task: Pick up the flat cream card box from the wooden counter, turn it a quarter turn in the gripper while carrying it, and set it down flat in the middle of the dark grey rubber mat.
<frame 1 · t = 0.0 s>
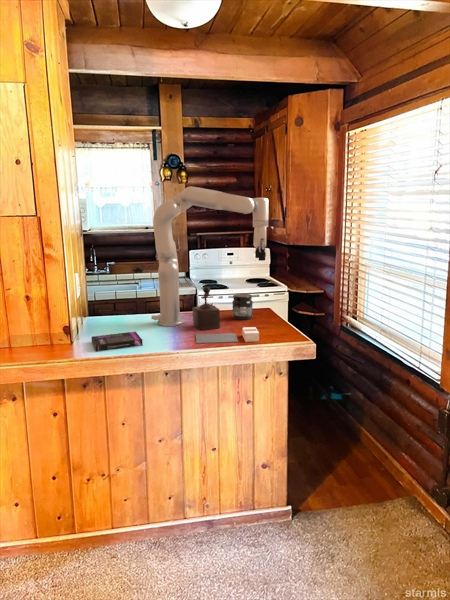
hand: (260, 259, 218), 31 cm above the table, tool pointing down, fingers open, 9 cm apart
vintage coffee grinder: (205, 325, 217), on the table
mat: (216, 338, 196), on the table
supplement container: (242, 318, 230), on the table
card box: (250, 338, 196), on the table
box: (116, 345, 190), on the table
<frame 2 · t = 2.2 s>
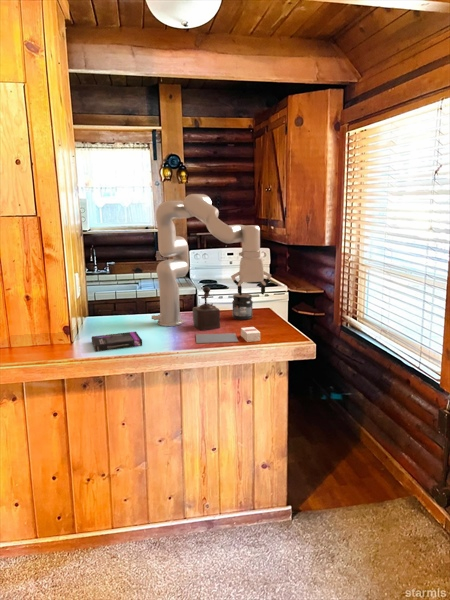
hand: (251, 294, 191), 20 cm above the table, tool pointing down, fingers open, 9 cm apart
nothing on the table moved.
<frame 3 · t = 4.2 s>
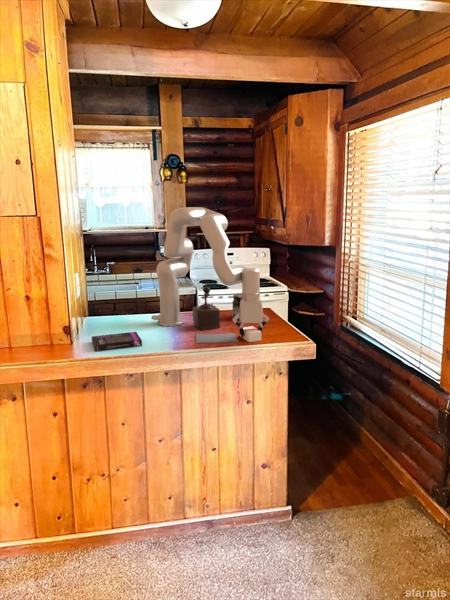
hand: (250, 335, 196), 1 cm above the table, tool pointing down, fingers closed on card box, 7 cm apart
card box: (250, 338, 196), on the table, touching gripper
everything else where it was.
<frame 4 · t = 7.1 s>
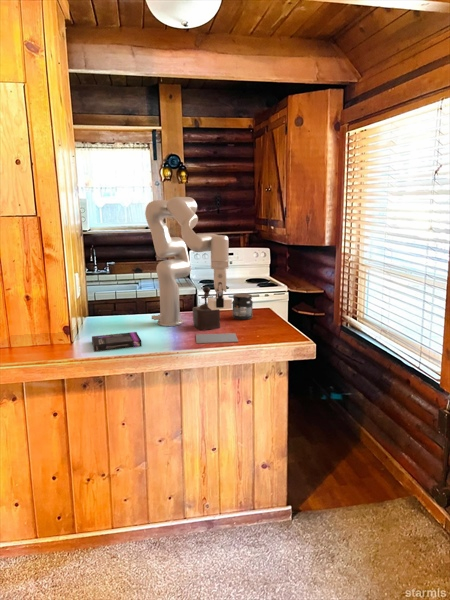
hand: (219, 304, 193), 15 cm above the table, tool pointing down, fingers closed on card box, 7 cm apart
card box: (219, 307, 193), point 14 cm above the table, touching gripper
everything else where it was.
when the fingers open (3 cm above the table, at t = 10.3 s): card box drops 1 cm, resting on mat.
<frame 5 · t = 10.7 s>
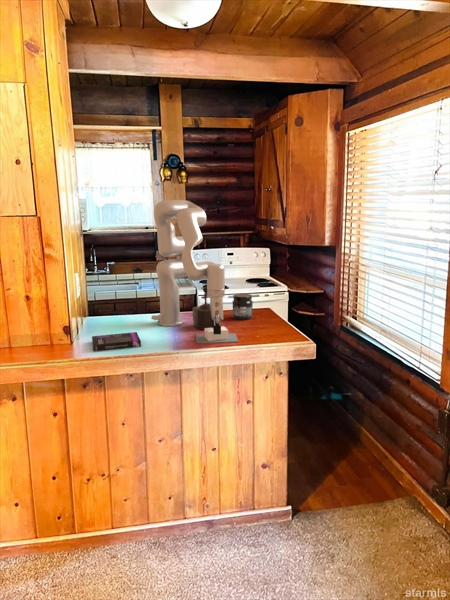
hand: (216, 330, 195), 4 cm above the table, tool pointing down, fingers open, 9 cm apart
card box: (216, 337, 196), resting on mat
everything else where it was.
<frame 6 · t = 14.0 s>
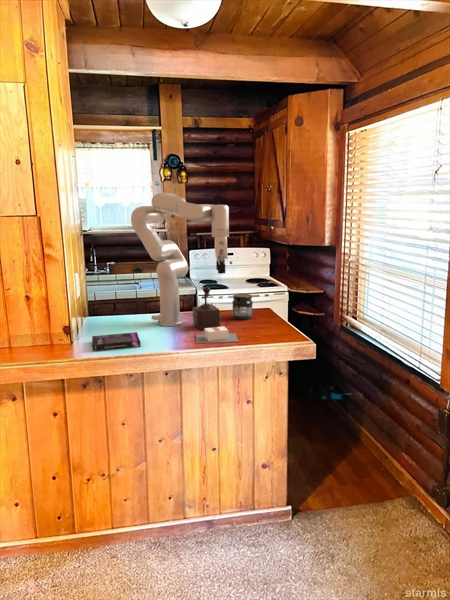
hand: (220, 271, 199), 28 cm above the table, tool pointing down, fingers open, 9 cm apart
nothing on the table moved.
at the end: card box inside the target area on the mat (0.1 cm from its centre), point 0.4 cm above the mat's base; card box tilted 0°; the gripper is holding nothing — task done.
